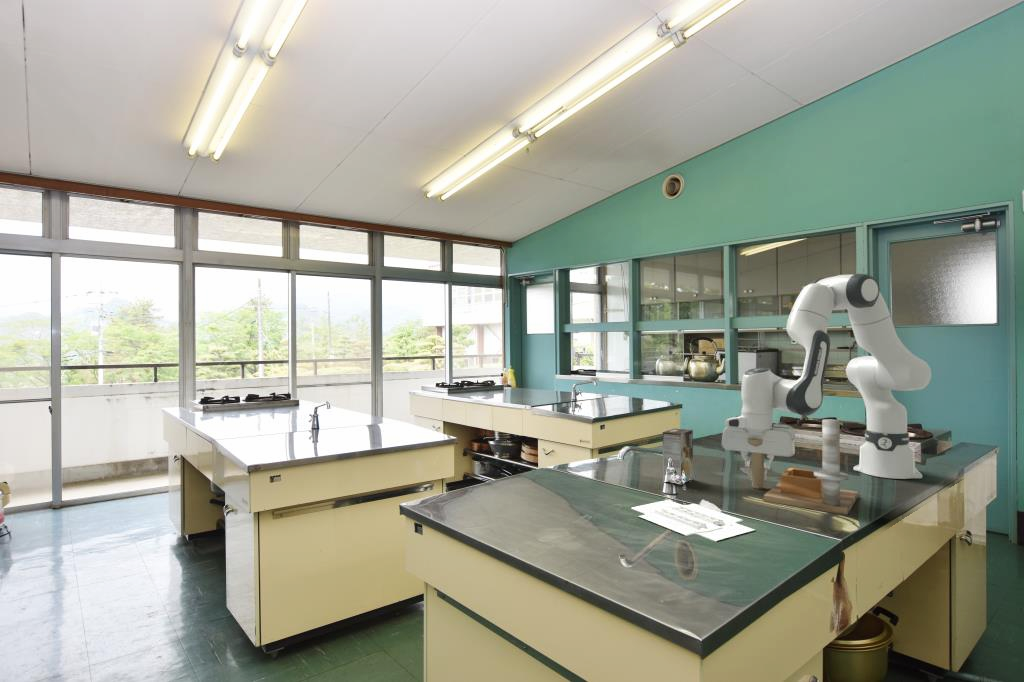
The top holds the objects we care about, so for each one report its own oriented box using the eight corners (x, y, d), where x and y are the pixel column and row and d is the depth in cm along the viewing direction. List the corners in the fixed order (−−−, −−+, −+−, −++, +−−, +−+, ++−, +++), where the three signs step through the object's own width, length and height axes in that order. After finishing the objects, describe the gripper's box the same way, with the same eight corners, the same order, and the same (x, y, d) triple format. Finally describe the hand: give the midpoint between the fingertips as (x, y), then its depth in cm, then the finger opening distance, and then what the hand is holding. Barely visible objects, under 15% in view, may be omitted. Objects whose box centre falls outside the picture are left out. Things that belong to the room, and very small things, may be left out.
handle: (744, 487, 165) (744, 438, 165) (755, 484, 169) (754, 436, 169) (760, 491, 161) (759, 440, 161) (770, 487, 165) (770, 438, 165)
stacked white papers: (706, 548, 120) (706, 531, 120) (621, 517, 144) (620, 503, 144) (765, 531, 130) (765, 515, 130) (676, 505, 154) (675, 491, 155)
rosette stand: (781, 485, 167) (780, 409, 167) (857, 497, 155) (857, 414, 155) (762, 501, 151) (762, 417, 151) (846, 516, 139) (846, 423, 138)
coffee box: (674, 476, 179) (674, 427, 179) (693, 479, 175) (693, 429, 175) (662, 482, 172) (662, 431, 172) (681, 485, 168) (681, 433, 168)
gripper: (797, 423, 161) (797, 470, 161) (726, 417, 174) (726, 461, 174) (792, 426, 156) (792, 474, 156) (719, 420, 169) (720, 464, 169)
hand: (757, 467), depth 165 cm, fingers closed on handle, 4 cm apart
